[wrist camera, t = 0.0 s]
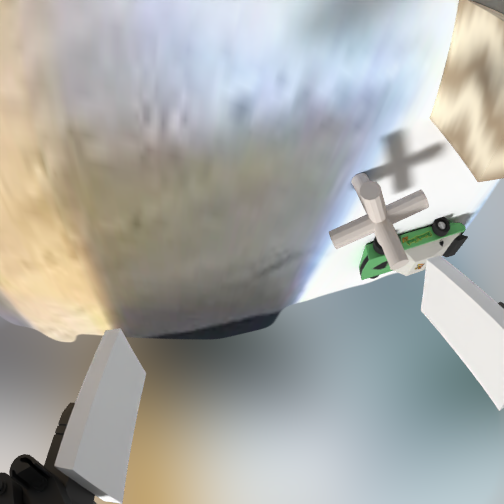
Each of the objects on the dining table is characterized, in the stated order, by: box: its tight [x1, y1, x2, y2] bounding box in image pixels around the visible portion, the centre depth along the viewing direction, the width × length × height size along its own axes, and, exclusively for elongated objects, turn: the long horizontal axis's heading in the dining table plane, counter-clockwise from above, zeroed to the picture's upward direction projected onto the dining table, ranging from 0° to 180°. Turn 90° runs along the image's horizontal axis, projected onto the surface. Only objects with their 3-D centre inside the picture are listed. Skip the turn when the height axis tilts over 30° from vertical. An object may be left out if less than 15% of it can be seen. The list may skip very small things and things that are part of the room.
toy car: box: [359, 217, 468, 280], centre depth 43 cm, size 10×19×5 cm, turn 101°
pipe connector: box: [329, 173, 429, 270], centre depth 26 cm, size 10×10×10 cm
